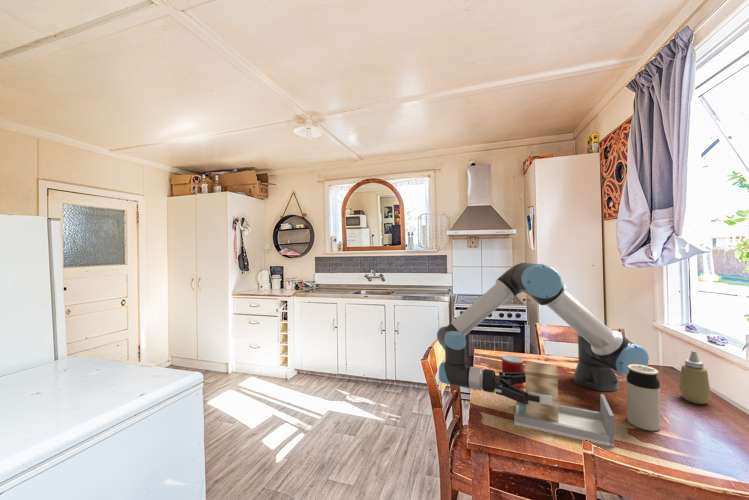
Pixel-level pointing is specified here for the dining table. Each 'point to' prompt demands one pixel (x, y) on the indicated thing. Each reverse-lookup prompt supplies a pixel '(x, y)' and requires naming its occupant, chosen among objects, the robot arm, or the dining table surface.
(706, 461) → the dining table surface
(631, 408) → the travel mug
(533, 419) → the bay
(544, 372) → the wooden block
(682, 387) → the squeeze bottle
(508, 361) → the canned food
